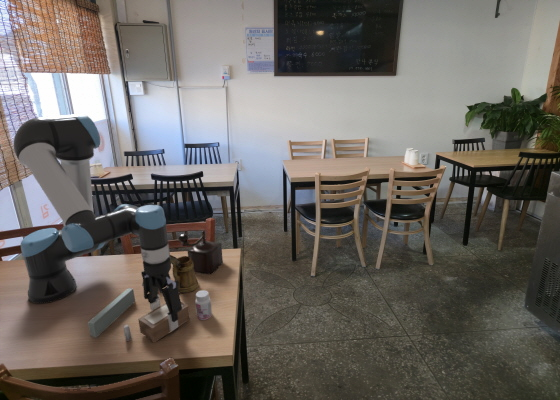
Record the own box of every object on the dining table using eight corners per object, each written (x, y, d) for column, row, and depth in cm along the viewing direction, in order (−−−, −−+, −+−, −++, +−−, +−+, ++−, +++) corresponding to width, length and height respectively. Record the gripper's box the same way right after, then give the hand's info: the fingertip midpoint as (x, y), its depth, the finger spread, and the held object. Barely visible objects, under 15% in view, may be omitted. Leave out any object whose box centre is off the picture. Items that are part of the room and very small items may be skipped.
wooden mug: (160, 297, 125) (154, 252, 119) (183, 278, 137) (178, 236, 131) (182, 302, 122) (175, 255, 116) (203, 282, 134) (198, 239, 128)
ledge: (91, 336, 106) (87, 322, 105) (130, 300, 124) (128, 288, 122) (127, 342, 103) (125, 328, 102) (162, 304, 121) (160, 292, 119)
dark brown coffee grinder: (200, 259, 152) (196, 220, 146) (223, 262, 148) (220, 223, 143) (180, 277, 138) (175, 235, 132) (205, 281, 134) (201, 238, 129)
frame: (140, 332, 106) (138, 318, 104) (175, 310, 116) (174, 297, 114) (154, 342, 102) (152, 327, 100) (189, 319, 112) (188, 305, 110)
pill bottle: (195, 320, 112) (192, 297, 110) (199, 311, 117) (196, 289, 114) (209, 320, 112) (207, 298, 109) (213, 311, 117) (211, 289, 114)
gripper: (123, 254, 103) (135, 319, 111) (169, 273, 93) (178, 343, 100) (145, 244, 109) (154, 306, 117) (190, 262, 99) (197, 329, 106)
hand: (165, 323), depth 109 cm, fingers closed on frame, 7 cm apart
